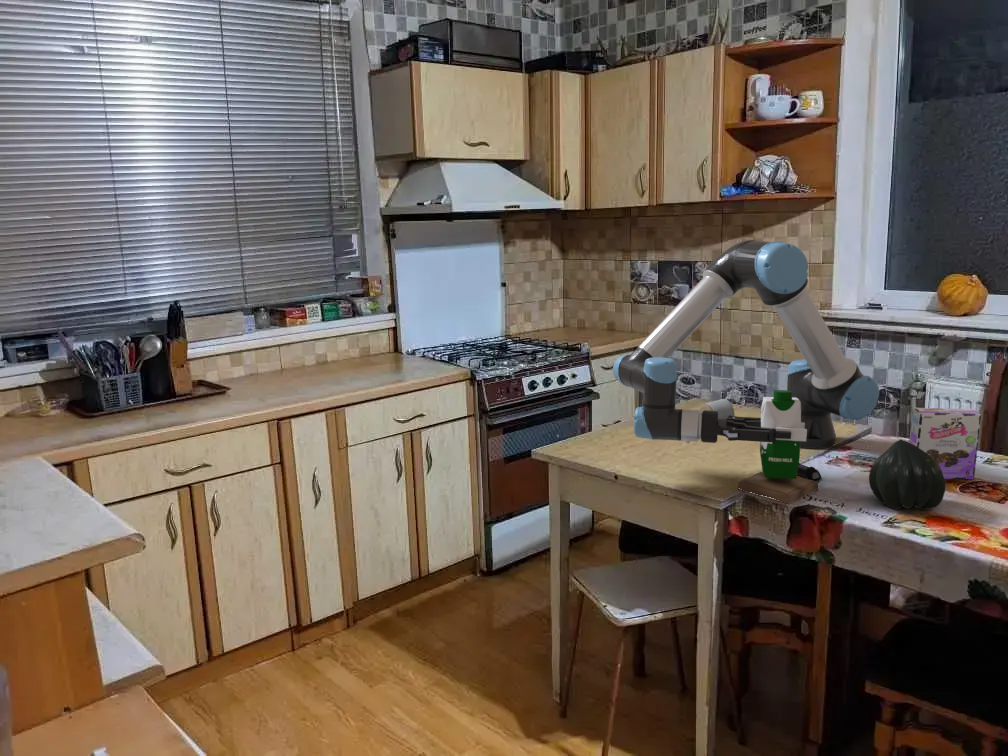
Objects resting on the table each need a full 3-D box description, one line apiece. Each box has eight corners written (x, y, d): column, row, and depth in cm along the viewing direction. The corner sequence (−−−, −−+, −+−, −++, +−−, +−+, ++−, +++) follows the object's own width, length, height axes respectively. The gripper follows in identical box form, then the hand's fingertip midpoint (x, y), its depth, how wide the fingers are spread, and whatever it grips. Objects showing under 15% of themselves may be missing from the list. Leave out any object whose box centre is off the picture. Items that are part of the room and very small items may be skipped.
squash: (948, 500, 171) (947, 435, 177) (869, 494, 176) (870, 431, 183) (941, 525, 182) (940, 462, 189) (867, 518, 188) (868, 458, 195)
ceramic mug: (696, 424, 250) (697, 399, 248) (717, 420, 253) (718, 396, 252) (720, 433, 240) (721, 408, 239) (741, 429, 244) (743, 404, 242)
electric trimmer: (776, 463, 214) (777, 451, 214) (822, 480, 200) (823, 467, 200) (765, 465, 213) (765, 454, 212) (811, 483, 199) (811, 470, 198)
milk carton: (761, 478, 191) (763, 392, 189) (758, 470, 200) (760, 387, 197) (801, 480, 189) (804, 392, 187) (796, 471, 198) (799, 388, 195)
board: (768, 476, 203) (769, 467, 203) (818, 490, 193) (818, 480, 193) (737, 489, 195) (738, 480, 194) (787, 504, 185) (788, 494, 185)
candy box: (913, 478, 200) (919, 412, 196) (905, 470, 205) (911, 406, 202) (974, 480, 198) (982, 413, 194) (965, 472, 203) (972, 407, 200)
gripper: (701, 431, 205) (801, 436, 199) (698, 452, 188) (807, 459, 182) (702, 401, 203) (803, 406, 197) (700, 420, 186) (810, 426, 180)
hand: (805, 431), depth 190 cm, fingers closed on milk carton, 5 cm apart
